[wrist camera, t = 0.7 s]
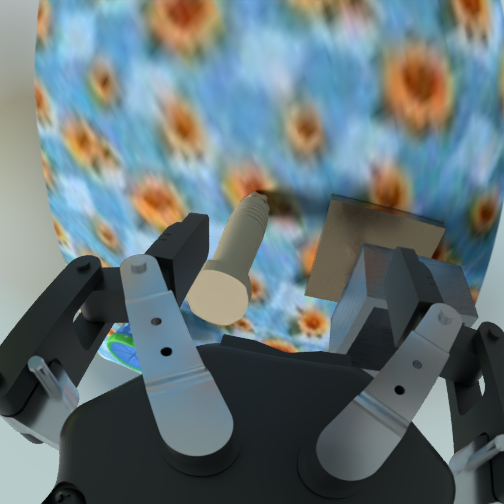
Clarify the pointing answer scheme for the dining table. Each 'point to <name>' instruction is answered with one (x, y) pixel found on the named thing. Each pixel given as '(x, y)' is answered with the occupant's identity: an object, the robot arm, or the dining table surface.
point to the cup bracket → (375, 275)
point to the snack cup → (124, 347)
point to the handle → (231, 265)
